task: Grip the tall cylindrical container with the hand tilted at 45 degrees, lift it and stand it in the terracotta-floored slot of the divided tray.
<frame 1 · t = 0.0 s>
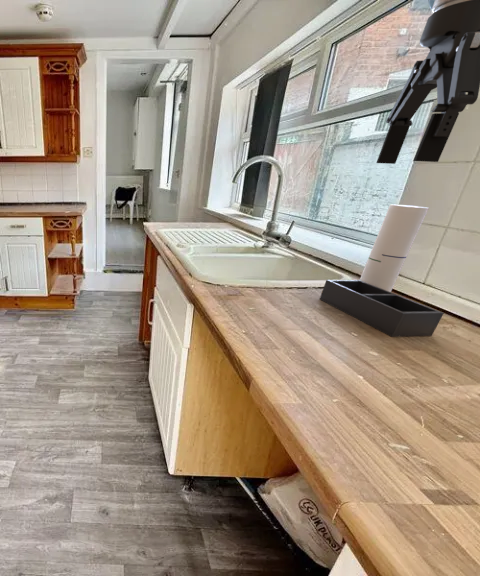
hand: (403, 162, 53), 34 cm above the countertop, tool pointing down, fingers open, 13 cm apart
cylindrical container: (369, 297, 86), on the countertop
divided tray: (369, 315, 74), on the countertop
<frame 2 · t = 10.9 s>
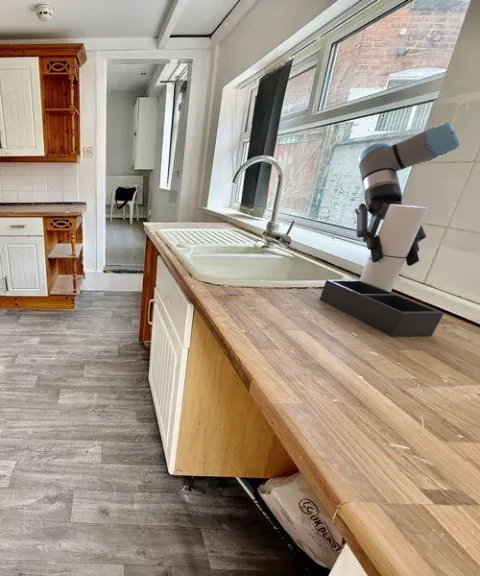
hand: (395, 261, 79), 12 cm above the countertop, tool tilted 45°, fingers closed on cylindrical container, 7 cm apart
cylindrical container: (369, 297, 86), on the countertop, touching gripper
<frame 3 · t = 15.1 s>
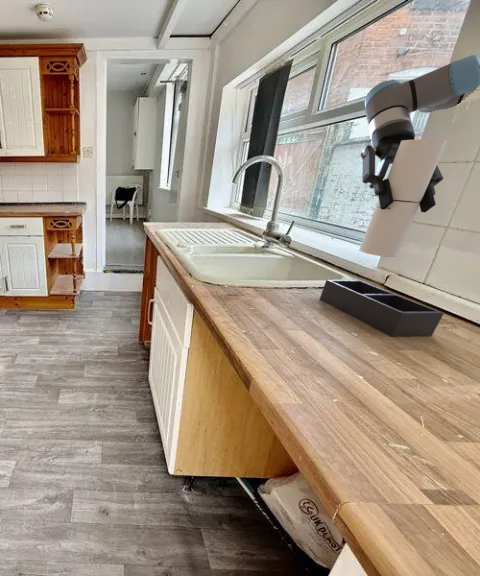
hand: (407, 206, 68), 26 cm above the countertop, tool tilted 45°, fingers closed on cylindrical container, 7 cm apart
cylindrical container: (377, 253, 75), point 14 cm above the countertop, touching gripper
when the fingers open (12 cm above the countertop, at t = 19.4 s): cylindrical container stays where it is, resting on divided tray.
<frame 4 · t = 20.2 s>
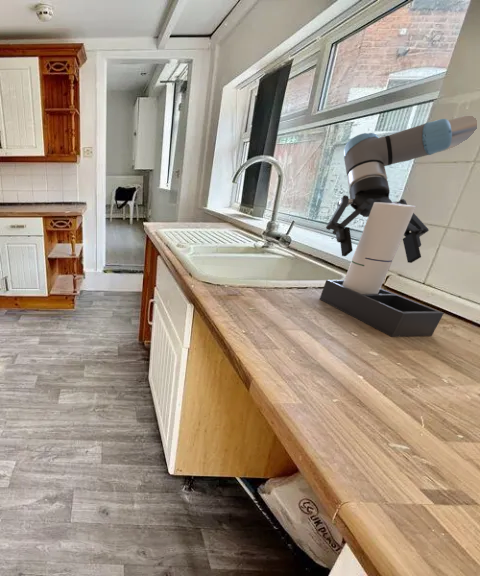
hand: (380, 256, 71), 14 cm above the countertop, tool tilted 45°, fingers open, 13 cm apart
cylindrical container: (353, 304, 78), point 1 cm above the countertop, touching divided tray
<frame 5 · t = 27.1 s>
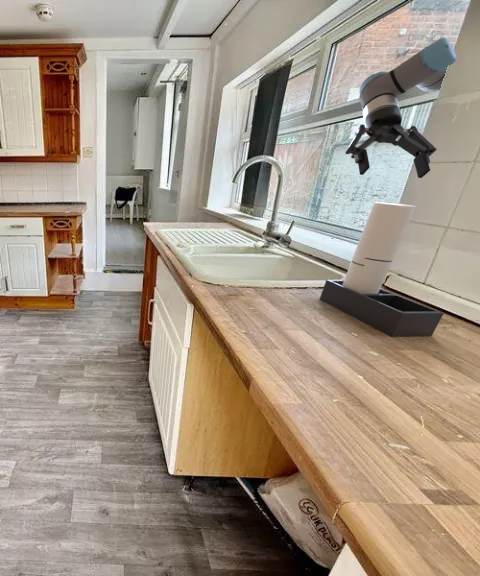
hand: (394, 172, 81), 33 cm above the countertop, tool tilted 45°, fingers open, 13 cm apart
nothing on the countertop moved.
at the end: cylindrical container 0.0 cm from the target spot in the divided tray, point 0.6 cm above the divided tray's base; cylindrical container tilted 0°; the gripper is holding nothing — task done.
